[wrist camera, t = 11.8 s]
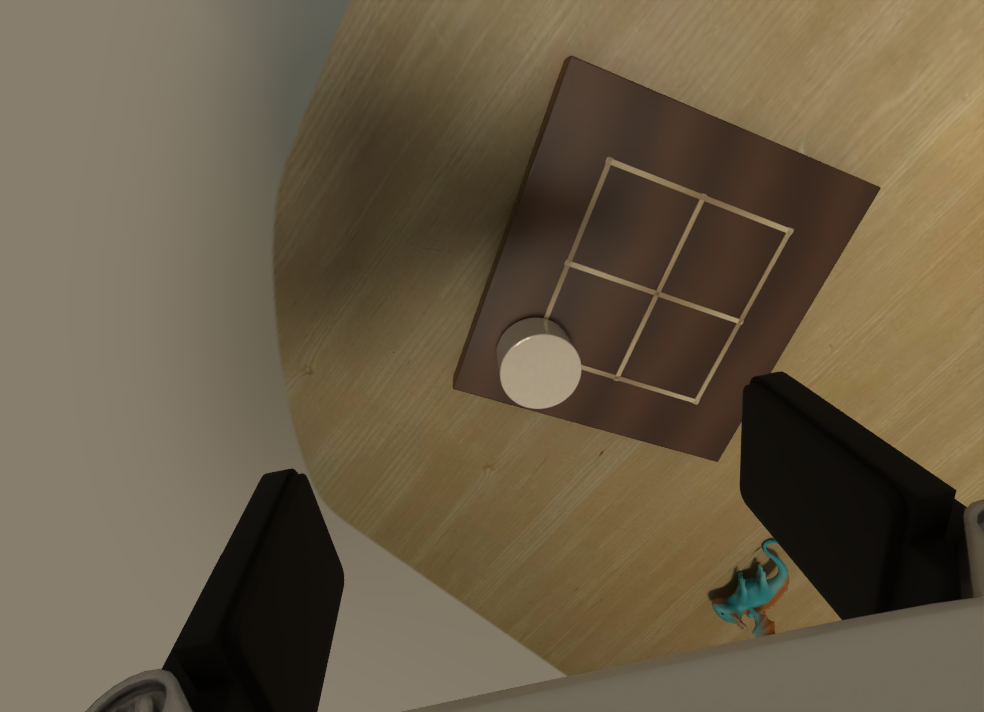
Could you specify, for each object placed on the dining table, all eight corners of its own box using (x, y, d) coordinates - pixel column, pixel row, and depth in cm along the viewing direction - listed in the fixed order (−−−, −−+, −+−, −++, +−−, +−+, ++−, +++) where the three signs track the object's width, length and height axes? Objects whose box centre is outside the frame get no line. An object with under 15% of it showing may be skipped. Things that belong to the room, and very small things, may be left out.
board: (452, 379, 35) (452, 389, 33) (565, 59, 28) (571, 54, 26) (708, 450, 39) (718, 463, 37) (862, 185, 32) (883, 187, 30)
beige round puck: (485, 375, 33) (488, 397, 30) (511, 307, 31) (516, 323, 29) (554, 395, 34) (563, 418, 31) (582, 329, 32) (594, 348, 30)
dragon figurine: (718, 538, 41) (714, 640, 41) (826, 553, 38) (822, 661, 38) (711, 515, 47) (707, 603, 47) (803, 526, 44) (799, 619, 44)
